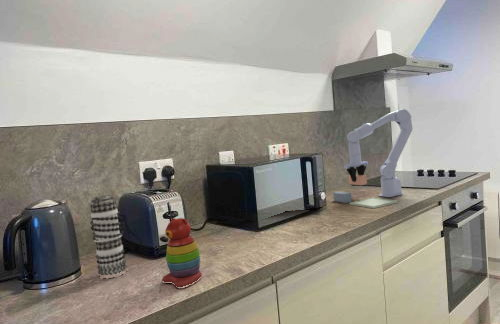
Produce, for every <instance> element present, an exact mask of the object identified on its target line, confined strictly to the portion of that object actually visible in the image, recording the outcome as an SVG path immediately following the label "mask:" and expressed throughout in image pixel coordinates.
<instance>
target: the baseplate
mask: <svg viewBox="0 0 500 324" xmlns="http://www.w3.org/2000/svg"><path fill="white" fill-rule="evenodd" d="M348 203H349V204H348V205H349V206H350V205H351V206H357V207H363V208H369V209H377V208H381V207H385V206H389V205H393V204H398V203H399V201H398V200H396V199H389V198H380V197H373V196H372V197H368V198H364V199H360V200H359V199H358V200H355V201H352V202H348Z"/></svg>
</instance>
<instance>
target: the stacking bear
mask: <svg viewBox="0 0 500 324" xmlns="http://www.w3.org/2000/svg"><path fill="white" fill-rule="evenodd" d="M191 228H192V227H191V223H189V221H188V220H187V218H182V217H181V218H172V217H171V219H170V221H169V222H168V224H167V226H166V228H165V232H164V233H165V235H166V237H167V238H168V239H169V240H168V242H167V246H166V254H165V255H166V256H165V261H166V265H167V269H168V270H169V273H167V274H165V275H163V277H162V278H161V279H162V280H161V282H162V281H164V282H172V283H174V284H175V285H174V287H175V286H177V287H183V286H186V285H189V284H192V283H193V282H195V281H197V280H198V279H199V278H200V277H201V276H203V275H202V272H201V271H200V268H201V266H200V265H201V253H200V250H199V247H198V244H197V242H196V240H195V239H194V238H193V237H192V236H190V235H191V231H192V229H191ZM201 278H202V277H201Z"/></svg>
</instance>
